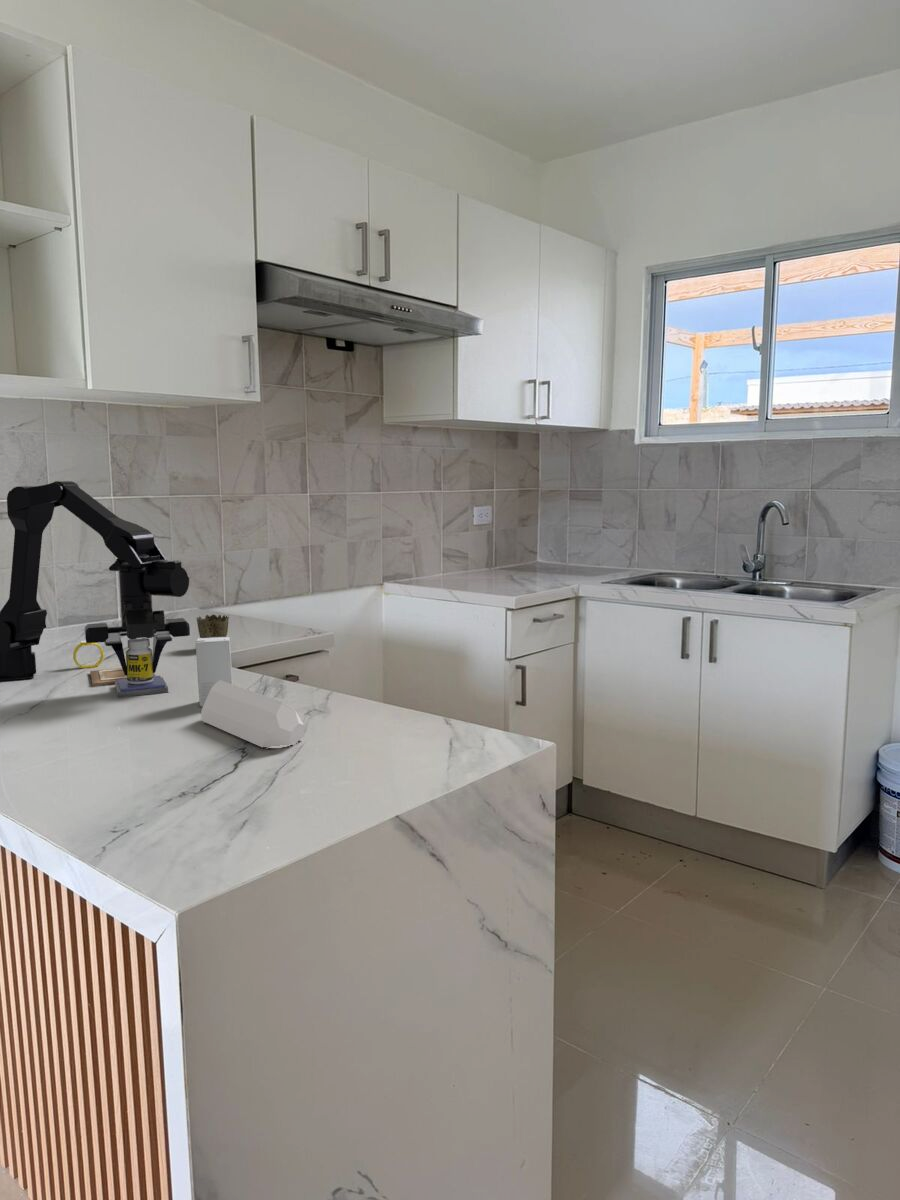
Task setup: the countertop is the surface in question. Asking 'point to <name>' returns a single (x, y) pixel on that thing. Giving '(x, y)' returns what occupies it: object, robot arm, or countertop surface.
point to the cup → (213, 626)
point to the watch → (87, 644)
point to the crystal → (251, 716)
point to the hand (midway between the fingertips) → (139, 673)
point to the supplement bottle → (139, 661)
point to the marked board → (107, 676)
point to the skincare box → (212, 664)
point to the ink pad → (141, 687)
